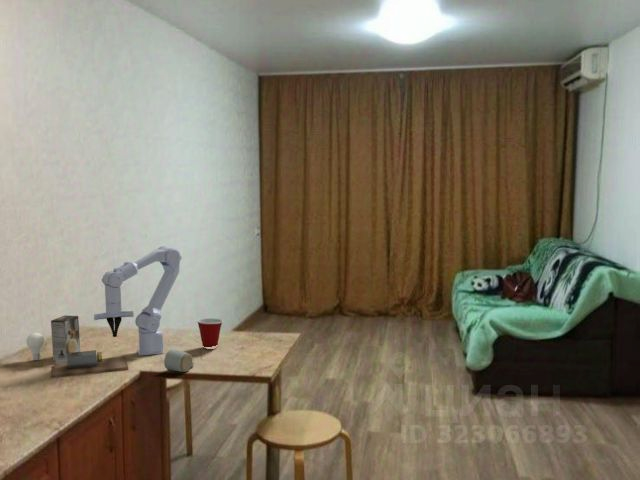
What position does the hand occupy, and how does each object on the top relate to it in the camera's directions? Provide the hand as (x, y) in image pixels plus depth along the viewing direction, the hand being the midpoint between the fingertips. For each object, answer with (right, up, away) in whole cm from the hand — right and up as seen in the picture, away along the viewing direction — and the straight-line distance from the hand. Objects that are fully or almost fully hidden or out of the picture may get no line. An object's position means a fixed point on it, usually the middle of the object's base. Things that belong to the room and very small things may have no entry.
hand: (114, 336), depth 243 cm
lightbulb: (-31, -10, 0) cm, 32 cm away
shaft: (-10, -9, -11) cm, 17 cm away
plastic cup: (+34, -8, +17) cm, 39 cm away
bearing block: (-9, -11, -10) cm, 17 cm away
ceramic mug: (+28, -11, -11) cm, 32 cm away
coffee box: (-20, -9, +4) cm, 23 cm away
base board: (-6, -10, -9) cm, 15 cm away
